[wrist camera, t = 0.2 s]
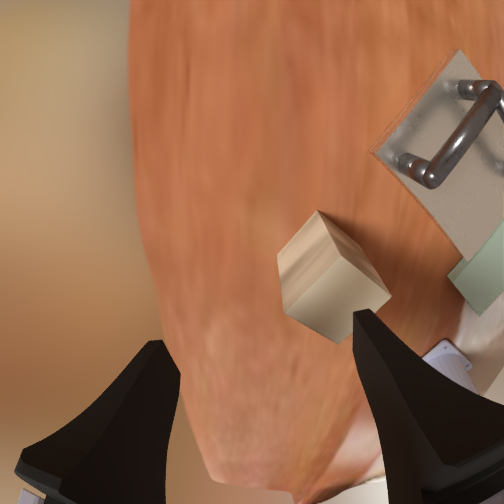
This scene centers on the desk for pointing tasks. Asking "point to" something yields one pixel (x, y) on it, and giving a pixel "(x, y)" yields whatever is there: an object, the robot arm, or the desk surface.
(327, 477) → the desk surface
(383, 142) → the beige flat handled piece
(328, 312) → the maple block
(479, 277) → the pad
